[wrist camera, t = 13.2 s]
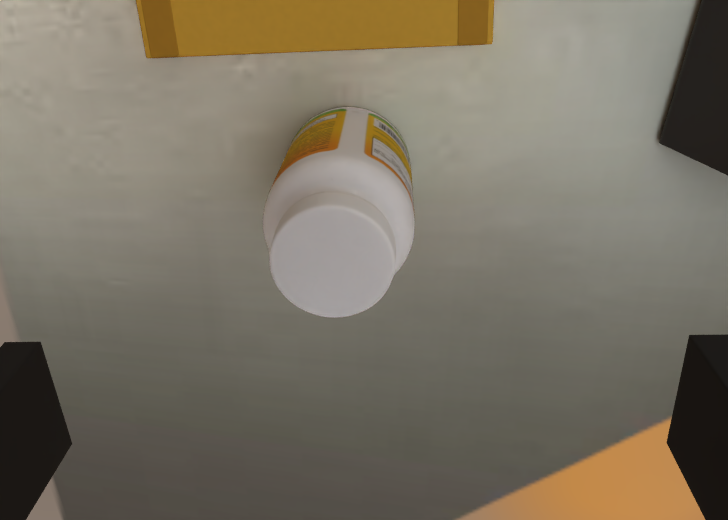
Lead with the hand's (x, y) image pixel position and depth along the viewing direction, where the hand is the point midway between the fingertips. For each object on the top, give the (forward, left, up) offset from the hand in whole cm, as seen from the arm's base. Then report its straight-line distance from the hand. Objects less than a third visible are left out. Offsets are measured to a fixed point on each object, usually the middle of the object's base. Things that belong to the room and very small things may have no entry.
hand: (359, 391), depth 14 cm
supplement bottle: (+1, -1, -17) cm, 17 cm away
